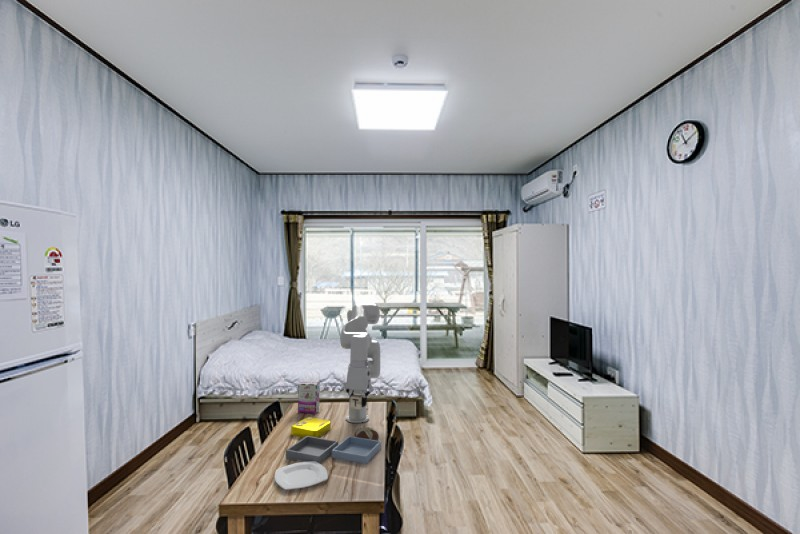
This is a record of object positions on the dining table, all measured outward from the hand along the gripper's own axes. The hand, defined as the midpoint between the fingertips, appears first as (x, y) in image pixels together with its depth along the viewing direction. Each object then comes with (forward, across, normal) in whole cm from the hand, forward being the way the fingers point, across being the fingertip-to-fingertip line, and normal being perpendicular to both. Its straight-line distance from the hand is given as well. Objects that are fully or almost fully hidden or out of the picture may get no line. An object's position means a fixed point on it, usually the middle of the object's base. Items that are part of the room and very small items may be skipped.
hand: (357, 404), depth 169 cm
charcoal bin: (+21, +18, +7) cm, 29 cm away
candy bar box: (+22, +49, -38) cm, 66 cm away
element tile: (+22, +32, -14) cm, 41 cm away
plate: (+22, +11, +26) cm, 36 cm away
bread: (+22, +3, -16) cm, 27 cm away
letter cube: (+1, 0, 0) cm, 1 cm away
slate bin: (+21, 0, 0) cm, 21 cm away
